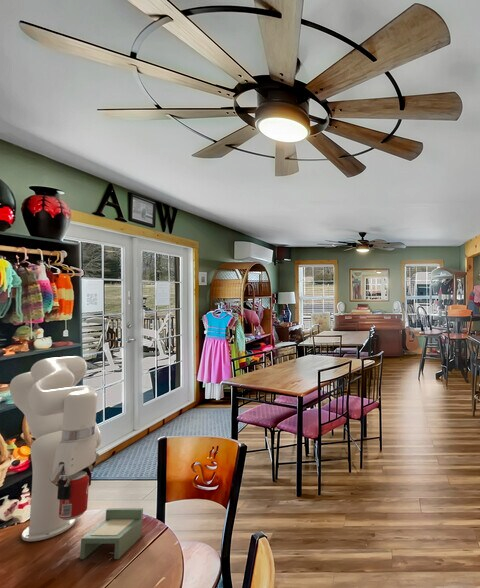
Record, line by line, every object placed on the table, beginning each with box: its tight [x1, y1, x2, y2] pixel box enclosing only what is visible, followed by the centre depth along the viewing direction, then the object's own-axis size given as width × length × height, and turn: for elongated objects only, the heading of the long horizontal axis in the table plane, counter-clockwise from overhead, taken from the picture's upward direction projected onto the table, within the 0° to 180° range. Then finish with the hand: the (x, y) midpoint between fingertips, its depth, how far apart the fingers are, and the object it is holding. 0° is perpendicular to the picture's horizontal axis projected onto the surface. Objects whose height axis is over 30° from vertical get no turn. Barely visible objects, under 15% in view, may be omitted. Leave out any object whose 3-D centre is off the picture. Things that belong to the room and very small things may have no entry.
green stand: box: [79, 507, 144, 560], centre depth 106 cm, size 11×10×9 cm
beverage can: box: [59, 470, 90, 520], centre depth 103 cm, size 6×6×12 cm
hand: (74, 491), depth 103 cm, fingers closed on beverage can, 6 cm apart
